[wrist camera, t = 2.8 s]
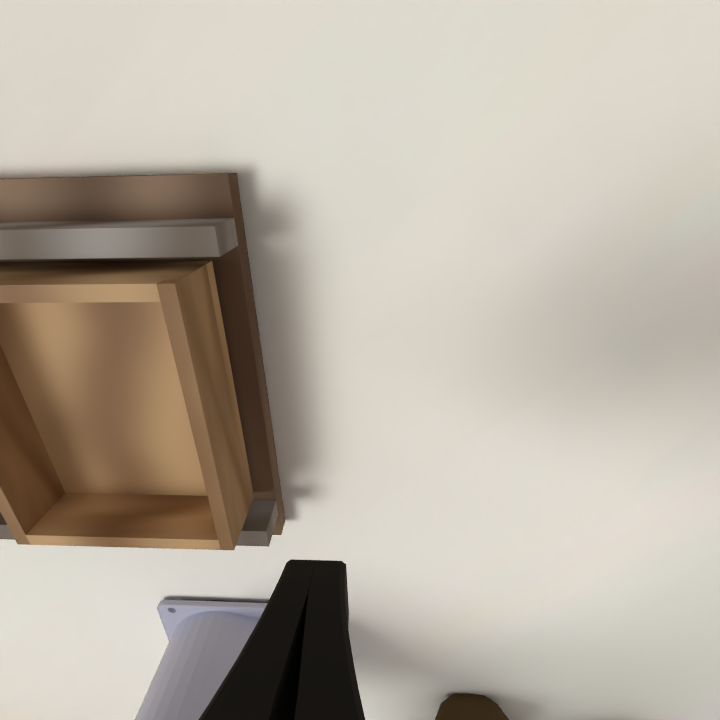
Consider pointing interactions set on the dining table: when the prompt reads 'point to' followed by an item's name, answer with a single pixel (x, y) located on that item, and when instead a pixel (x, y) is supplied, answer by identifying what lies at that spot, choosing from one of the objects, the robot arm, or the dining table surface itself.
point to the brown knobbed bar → (469, 708)
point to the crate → (118, 407)
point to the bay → (160, 243)
